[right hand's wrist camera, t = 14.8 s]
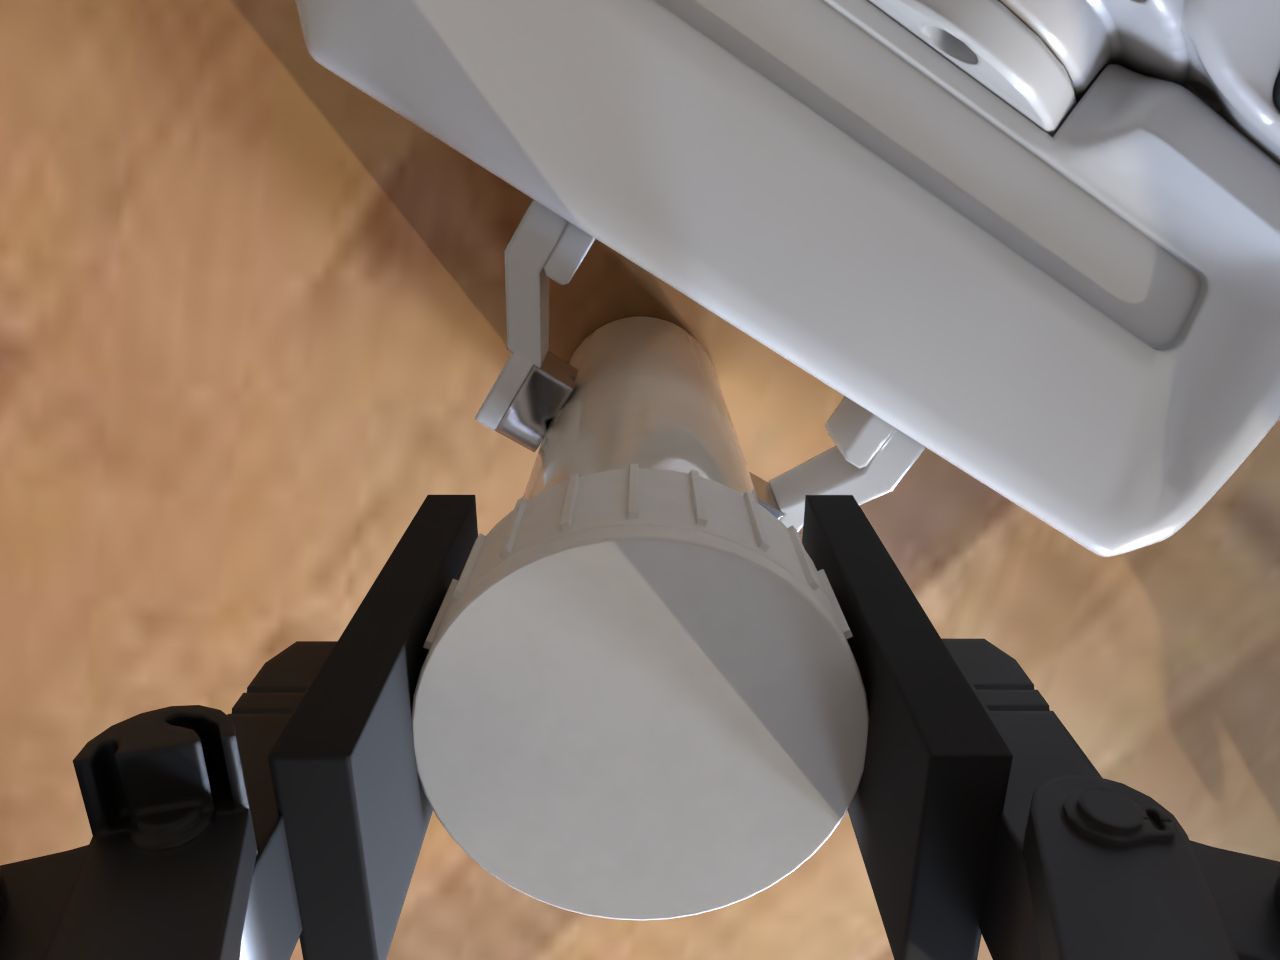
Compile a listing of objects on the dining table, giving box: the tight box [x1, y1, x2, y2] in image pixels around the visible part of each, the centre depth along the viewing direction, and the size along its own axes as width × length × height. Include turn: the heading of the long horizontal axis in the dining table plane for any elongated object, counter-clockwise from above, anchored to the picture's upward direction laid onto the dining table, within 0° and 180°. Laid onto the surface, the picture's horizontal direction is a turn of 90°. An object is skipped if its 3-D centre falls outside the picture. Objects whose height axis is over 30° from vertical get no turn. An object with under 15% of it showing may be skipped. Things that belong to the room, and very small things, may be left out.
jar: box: [523, 317, 760, 504], centre depth 18 cm, size 4×4×16 cm
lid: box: [412, 464, 869, 920], centre depth 11 cm, size 6×6×2 cm
